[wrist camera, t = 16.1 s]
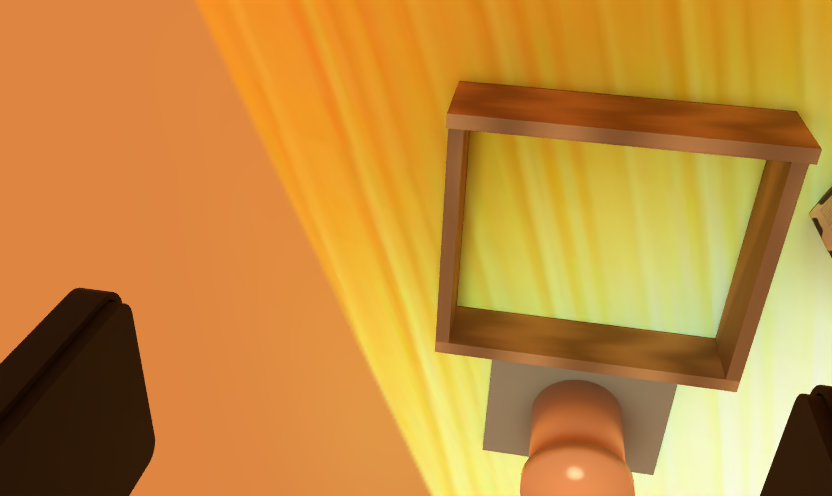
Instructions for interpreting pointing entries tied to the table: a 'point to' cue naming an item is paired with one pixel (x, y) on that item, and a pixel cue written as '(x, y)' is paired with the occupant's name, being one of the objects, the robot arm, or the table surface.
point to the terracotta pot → (576, 443)
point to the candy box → (824, 219)
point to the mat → (523, 382)
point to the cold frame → (638, 127)
